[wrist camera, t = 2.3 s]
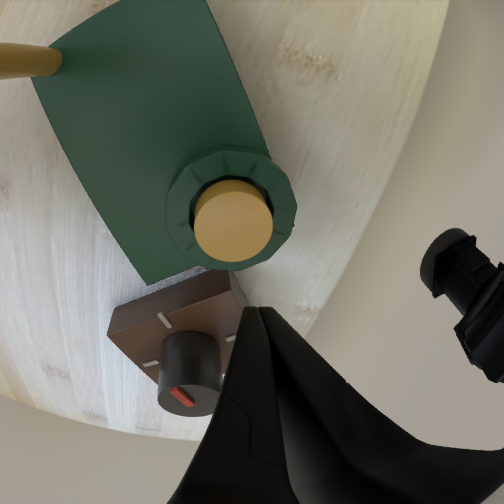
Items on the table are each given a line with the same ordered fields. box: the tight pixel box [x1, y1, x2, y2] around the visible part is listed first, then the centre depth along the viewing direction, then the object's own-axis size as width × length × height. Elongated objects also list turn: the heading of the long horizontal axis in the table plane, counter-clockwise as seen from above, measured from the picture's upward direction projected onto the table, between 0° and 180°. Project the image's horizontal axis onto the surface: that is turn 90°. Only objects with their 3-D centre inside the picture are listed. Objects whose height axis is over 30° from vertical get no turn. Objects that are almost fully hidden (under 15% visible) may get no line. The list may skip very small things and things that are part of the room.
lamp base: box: [31, 0, 297, 285], centre depth 14 cm, size 16×10×4 cm, turn 21°
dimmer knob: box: [158, 331, 223, 417], centre depth 19 cm, size 4×4×5 cm
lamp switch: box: [194, 180, 273, 262], centre depth 14 cm, size 4×4×2 cm
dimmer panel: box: [107, 269, 250, 384], centre depth 22 cm, size 9×10×3 cm
